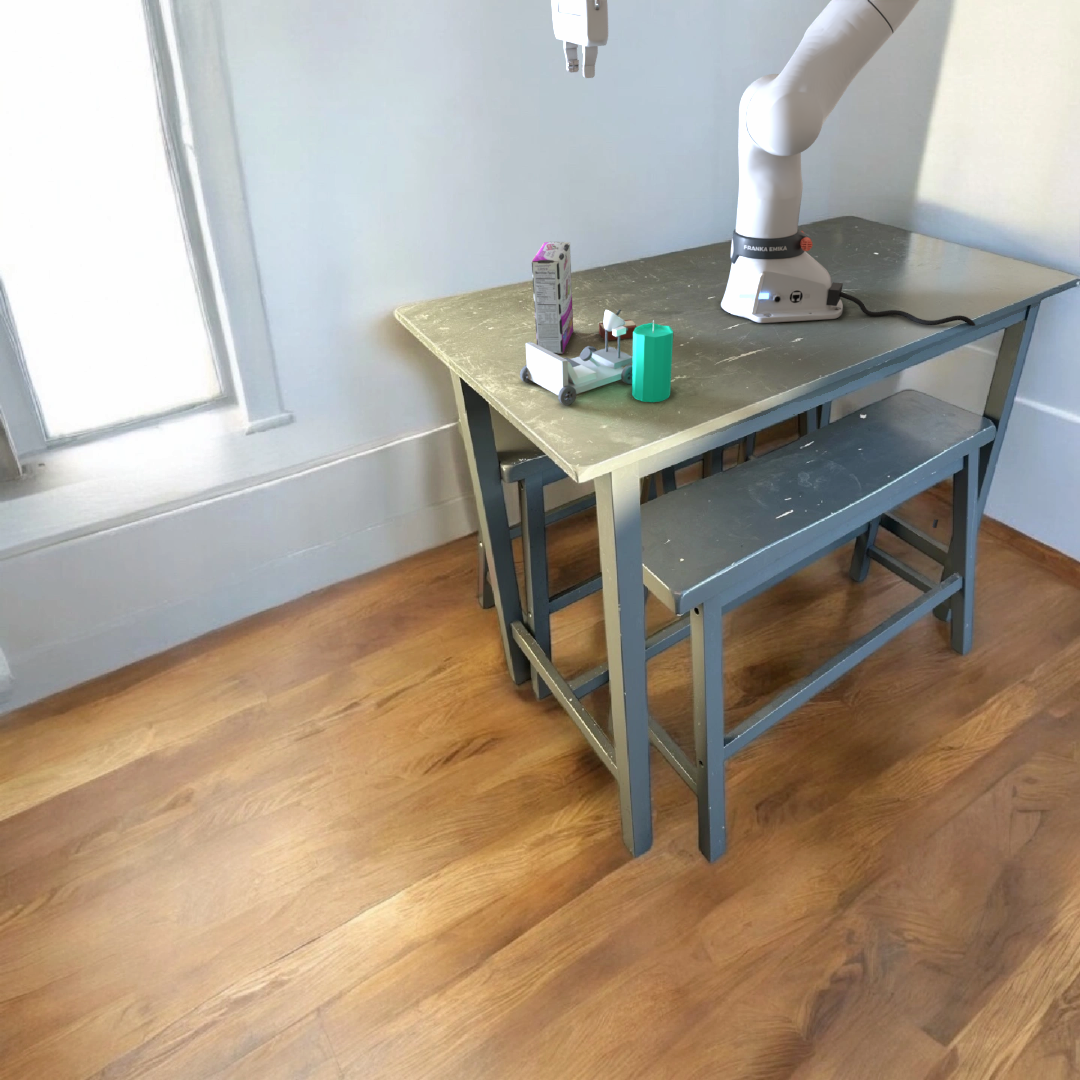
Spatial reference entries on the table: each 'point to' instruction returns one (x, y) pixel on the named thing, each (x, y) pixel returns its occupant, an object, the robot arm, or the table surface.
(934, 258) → the table surface
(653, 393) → the candle
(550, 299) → the candy bar box
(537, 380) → the toy car
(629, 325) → the matchbox
